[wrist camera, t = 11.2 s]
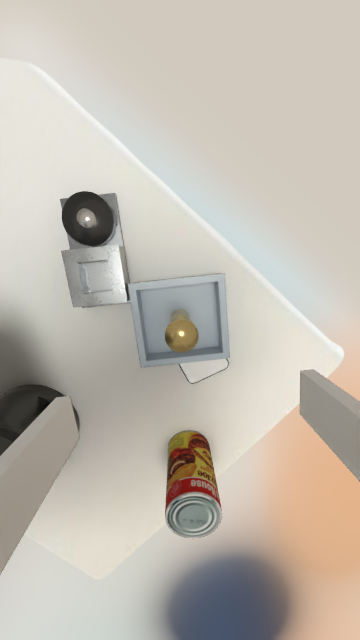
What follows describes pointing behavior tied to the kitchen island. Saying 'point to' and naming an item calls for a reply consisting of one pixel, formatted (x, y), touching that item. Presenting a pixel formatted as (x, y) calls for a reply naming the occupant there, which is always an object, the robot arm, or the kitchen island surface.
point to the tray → (202, 307)
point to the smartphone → (202, 369)
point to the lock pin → (181, 332)
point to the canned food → (191, 487)
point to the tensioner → (94, 250)
